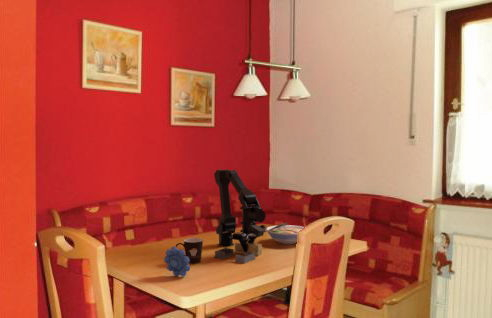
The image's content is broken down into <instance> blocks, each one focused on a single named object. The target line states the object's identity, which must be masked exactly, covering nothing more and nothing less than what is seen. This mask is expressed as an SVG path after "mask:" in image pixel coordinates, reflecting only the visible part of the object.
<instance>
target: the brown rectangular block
mask: <svg viewBox="0 0 492 318" xmlns="http://www.w3.org/2000/svg"><path fill="white" fill-rule="evenodd" d="M262 251H263V246H262V243H255V242H254V243H249V242H248V246H247V252H252V253H255V257H260V256H262V254H263V253H262ZM234 254H240V255H244V250H243V248H242V246H241V244H240V242H239V240H236V241H235V242H234Z"/></svg>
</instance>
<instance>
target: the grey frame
mask: <svg viewBox="0 0 492 318" xmlns="http://www.w3.org/2000/svg"><path fill="white" fill-rule="evenodd" d="M233 256H235V259H234V262H235V263H238V264H239V263H240V264H247V263H249V262H252V261H255V260H256V256H255V253H252V252H246V251H245V252H244V254H239V253H236V255H235V248H234V249H233V248H230V247H229V248H228V247H224V248H220V249H218V250H215V251H214V255H213V257H214V258H215V259H220V260H226V259H227V258H230V257H233Z"/></svg>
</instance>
